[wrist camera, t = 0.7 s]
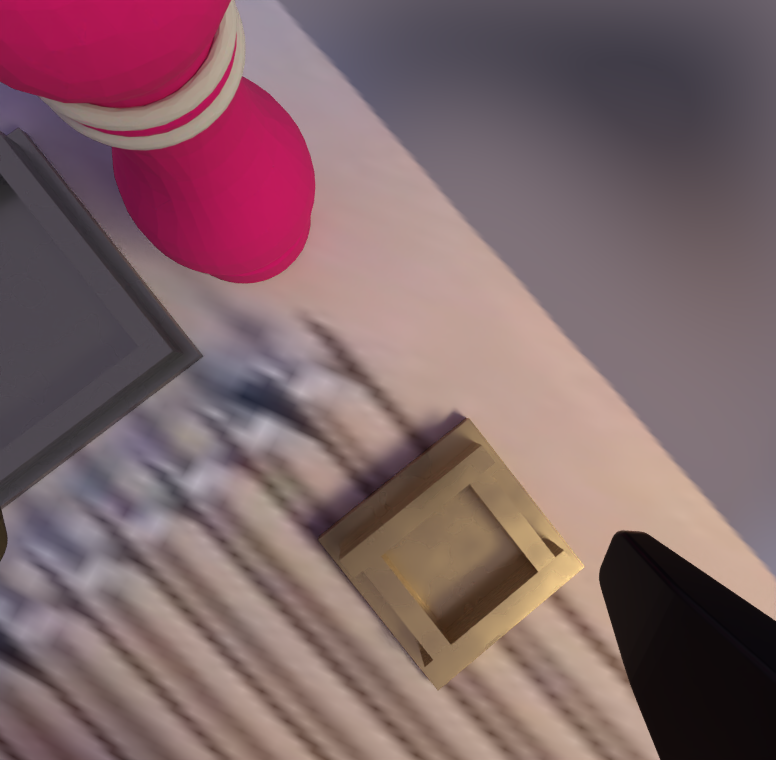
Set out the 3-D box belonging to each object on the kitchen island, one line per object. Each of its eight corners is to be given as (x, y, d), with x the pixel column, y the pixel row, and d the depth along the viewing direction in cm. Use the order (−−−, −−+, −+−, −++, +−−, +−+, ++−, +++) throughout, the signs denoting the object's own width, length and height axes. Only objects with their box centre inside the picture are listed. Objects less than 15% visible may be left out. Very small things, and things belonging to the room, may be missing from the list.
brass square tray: (435, 683, 25) (443, 710, 23) (318, 536, 25) (315, 549, 22) (579, 562, 25) (599, 577, 23) (466, 418, 25) (477, 420, 23)
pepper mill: (133, 227, 24) (-868, -532, 4) (233, 111, 25) (-257, -1055, 5) (255, 325, 25) (-159, 37, 5) (351, 209, 25) (355, -506, 5)
